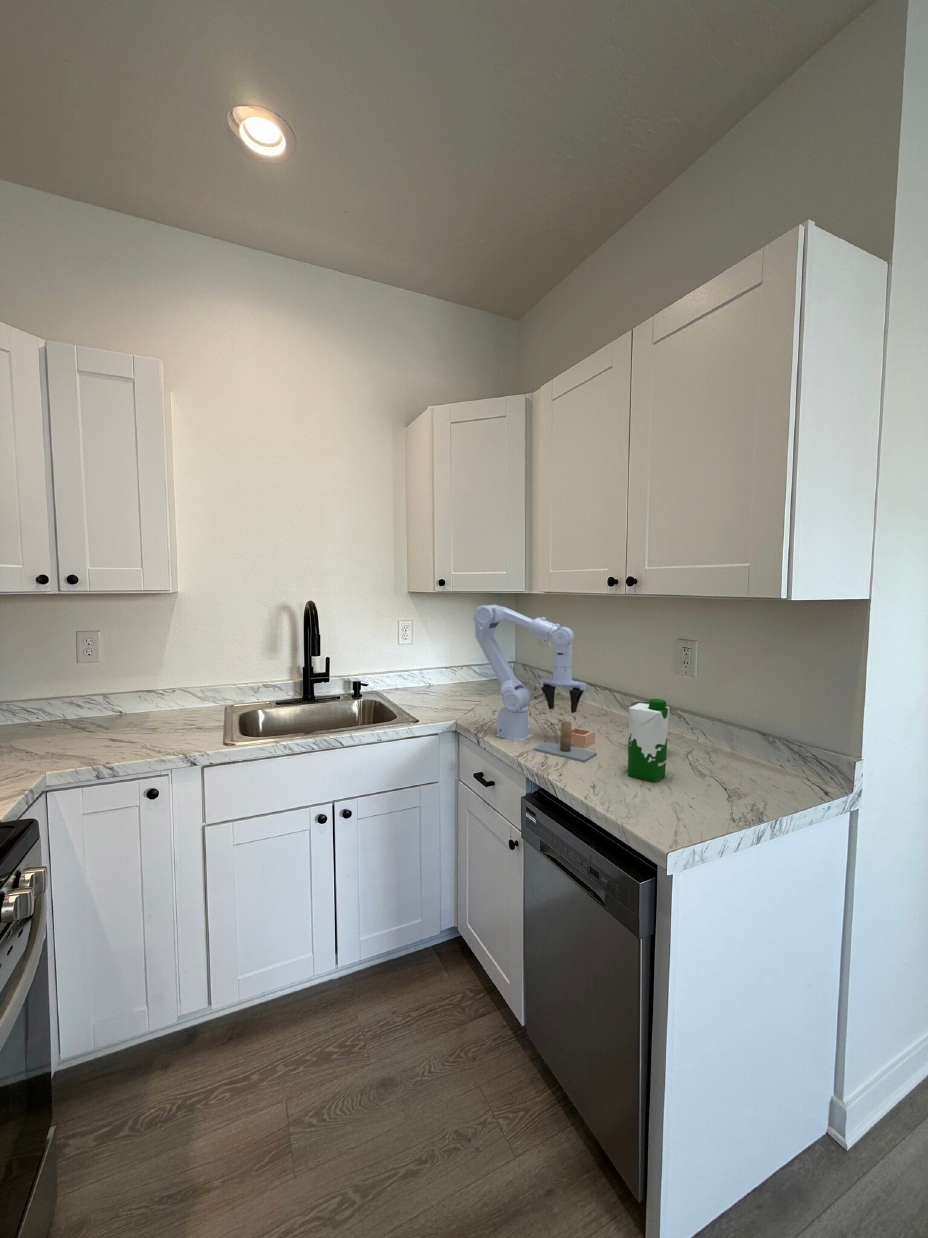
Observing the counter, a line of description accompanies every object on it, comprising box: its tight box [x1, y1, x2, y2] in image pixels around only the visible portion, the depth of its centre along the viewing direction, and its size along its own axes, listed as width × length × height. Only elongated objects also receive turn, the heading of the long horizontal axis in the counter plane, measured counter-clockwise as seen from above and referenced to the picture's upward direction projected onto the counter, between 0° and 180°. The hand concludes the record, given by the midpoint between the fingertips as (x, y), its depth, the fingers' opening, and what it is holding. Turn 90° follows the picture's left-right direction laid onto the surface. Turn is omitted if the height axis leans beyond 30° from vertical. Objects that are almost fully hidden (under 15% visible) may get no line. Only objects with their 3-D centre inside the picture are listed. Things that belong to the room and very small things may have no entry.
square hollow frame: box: [571, 726, 596, 749], centre depth 159 cm, size 7×7×4 cm
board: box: [533, 741, 598, 764], centre depth 149 cm, size 16×8×1 cm, turn 52°
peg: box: [560, 721, 572, 752], centre depth 149 cm, size 3×3×8 cm
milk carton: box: [627, 698, 670, 784], centre depth 132 cm, size 9×9×20 cm
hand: (562, 710), depth 159 cm, fingers open, 7 cm apart
